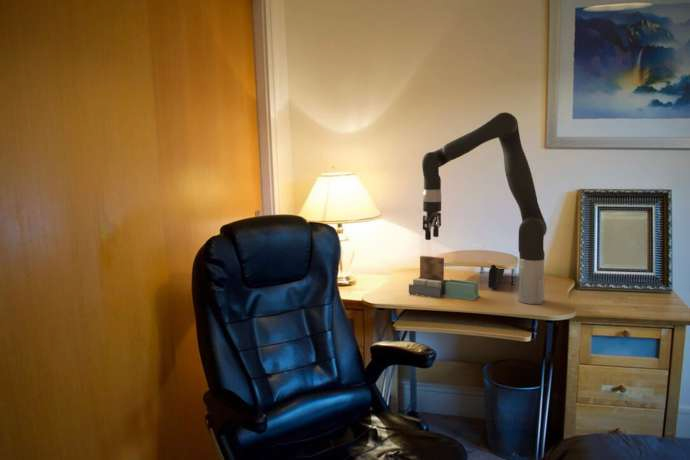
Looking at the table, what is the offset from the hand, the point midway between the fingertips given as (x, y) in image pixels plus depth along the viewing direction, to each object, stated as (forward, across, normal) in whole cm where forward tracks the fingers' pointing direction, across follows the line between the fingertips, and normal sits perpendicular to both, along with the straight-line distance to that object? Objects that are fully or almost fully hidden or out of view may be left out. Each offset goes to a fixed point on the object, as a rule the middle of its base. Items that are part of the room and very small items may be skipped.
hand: (432, 238), depth 219 cm
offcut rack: (+23, -4, 0) cm, 23 cm away
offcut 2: (+22, -5, -3) cm, 23 cm away
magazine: (+23, +28, -20) cm, 42 cm away
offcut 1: (+22, -5, +3) cm, 23 cm away
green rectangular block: (+23, -2, -14) cm, 27 cm away
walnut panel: (+22, 0, 0) cm, 22 cm away
